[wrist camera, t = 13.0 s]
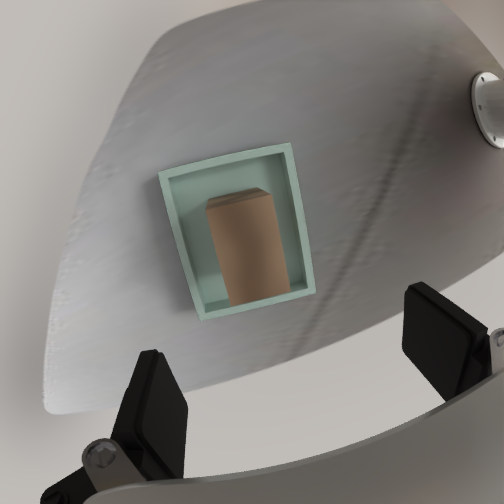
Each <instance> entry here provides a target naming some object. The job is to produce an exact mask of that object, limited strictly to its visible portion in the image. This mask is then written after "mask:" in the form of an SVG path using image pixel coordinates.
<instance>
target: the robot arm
mask: <svg viewBox="0 0 504 504" xmlns="http://www.w3.org/2000/svg"><path fill="white" fill-rule="evenodd" d="M471 95H472V105H473V110H474V114H475V117H476V120H477V123H478V125H479V127H480V129H481V132H482V133H483V135H484V136H485V138H486V139H487V140H488V142H489V143H490V144H492V145H493V146H495V147H497V148H504V79H500V80H499V79H498V78H497V77H496V76H495V75H493V74H492V73H489V72H483V73H480V74H478V75H477V76H476V77H475V78H474V81H473V84H472V94H471ZM487 330H488V328H487V327H486V326H484V325H483V324H482V323H480V322H479V321H478V320H476V319H475V318H474V317H472V316H471V315H469V314H468V313H467V312H465V311H464V310H463V309H461V308H460V307H458V306H457V305H456V304H454V303H453V302H451V301H450V300H449V299H447V298H446V297H444V296H443V295H441V294H440V293H438V292H437V291H436V290H434V289H433V288H431V287H430V286H428V285H427V284H425V283H424V282H418V283H415V284H412V285H409V286H408V288H407V290H406V291H405V296H404V321H403V337H402V349H403V352H404V353H405V355H406V356H407V357H408V358H409V359H410V360H411V362H412V363H413V364H414V365H415V366H416V367H417V368H418V369H419V371H420V372H421V373H422V374H423V375H424V377H425V378H426V379H427V380H428V381H429V382H430V384H431V385H432V386H433V387H434V388H435V389H436V391H437V392H438V393H439V394H440V396H441V397H442V398H443V399H444V400H445V401H446V402H445V403H444V404H442V405H440V406H438V407H436V408H434V409H432V410H431V411H429V412H427V413H425V414H423V415H421V416H418V417H416V418H415V419H412V420H410V421H408V422H406V423H404V424H401V425H399V426H397V427H395V428H392V429H390V430H388V431H385V432H383V433H380V434H378V435H375V436H373V437H370V438H368V439H365V440H362V441H360V442H357V443H354V444H351V445H348V446H346V447H343V448H339V449H336V450H333V451H330V452H327V453H323V454H320V455H316V456H313V457H309V458H305V459H302V460H298V461H294V462H290V463H286V464H281V465H277V466H271V467H266V468H261V469H256V470H250V471H244V472H238V473H230V474H224V475H215V476H206V477H197V478H183V475H184V458H185V444H186V430H187V418H188V406H187V402H186V400H185V398H184V397H183V394H182V392H181V390H180V388H179V386H178V384H177V382H176V380H175V378H174V376H173V374H172V372H171V369H170V367H169V365H168V363H167V361H166V358H165V356H164V354H163V353H162V352H158V351H157V350H156V349H154V350H147V351H142V352H141V353H140V355H139V358H138V361H137V364H136V366H135V369H134V372H133V375H132V378H131V381H130V383H129V386H128V388H127V389H126V391H125V394H124V397H123V400H122V403H121V406H120V409H119V412H118V415H117V418H116V422H115V424H114V428H113V432H112V434H111V437H110V439H107V438H103V439H98V440H95V441H93V442H92V443H91V444H89V445H88V446H87V447H86V448H85V449H84V451H83V454H82V463H83V467H81V468H80V469H78V470H77V471H75V472H74V473H72V474H71V475H69V476H67V477H65V478H64V479H62V480H61V481H59V482H57V483H56V484H54V485H52V486H51V487H49V488H48V489H46V490H45V492H44V493H43V494H42V496H41V499H40V504H504V328H499V329H496V330H494V331H493V332H492V333H491V335H490V336H489V335H488V334H487Z"/></svg>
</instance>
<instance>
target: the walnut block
mask: <svg viewBox="0 0 504 504" xmlns="http://www.w3.org/2000/svg"><path fill="white" fill-rule="evenodd" d="M205 211H206V215H207V219H208V223H209V227H210V231H211V234H212V238H213V242H214V246H215V250H216V254H217V257H218V261H219V265H220V268H221V272H222V276H223V279H224V283H225V287H226V290H227V294H228V298H229V301H230V305H231V306H235V305H240V304H244V303H248V302H252V301H256V300H260V299H264V298H268V297H272V296H276V295H279V294H283V293H287V292H291V290H290V284H289V279H288V274H287V268H286V263H285V258H284V253H283V247H282V242H281V237H280V232H279V227H278V222H277V217H276V212H275V208H274V203H273V198H272V194H270V193H268V192H266V191H264V190H262V189H260V188H258V187H256V188H252V189H247V190H243V191H239V192H234V193H230V194H226V195H222V196H218V197H214V198H210V199H208V202H207V206H206V209H205Z"/></svg>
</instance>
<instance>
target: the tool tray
mask: <svg viewBox="0 0 504 504" xmlns="http://www.w3.org/2000/svg"><path fill="white" fill-rule="evenodd" d="M158 176H159V181H160V185H161V189H162V193H163V197H164V201H165V205H166V209H167V213H168V216H169V220H170V224H171V228H172V231H173V235H174V238H175V242H176V246H177V249H178V253H179V256H180V259H181V263H182V266H183V270H184V273H185V276H186V280H187V283H188V286H189V289H190V292H191V296H192V299H193V302H194V305H195V308H196V311H197V314H198V317H199V320H200V321H203V320H208V319H212V318H217V317H221V316H226V315H230V314H234V313H239V312H243V311H247V310H252V309H256V308H260V307H264V306H268V305H272V304H276V303H280V302H284V301H288V300H292V299H295V298H299V297H303V296H307V295H310V294H314V293H316V288H315V280H314V273H313V266H312V260H311V253H310V246H309V240H308V234H307V228H306V222H305V216H304V210H303V204H302V199H301V193H300V188H299V182H298V177H297V172H296V167H295V162H294V157H293V152H292V147H291V142H289V143H283V144H278V145H272V146H267V147H261V148H256V149H251V150H246V151H241V152H237V153H232V154H227V155H223V156H219V157H214V158H210V159H206V160H202V161H198V162H194V163H190V164H186V165H182V166H178V167H174V168H171V169H167V170H163V171H160V172H158ZM256 187H258V188H260V189H262V190H264V191H266V192H268V193H270V194H272V198H273V203H274V208H275V212H276V217H277V222H278V227H279V232H280V237H281V242H282V247H283V253H284V258H285V263H286V268H287V274H288V279H289V284H290V290H291V292H287V293H283V294H279V295H276V296H272V297H268V298H264V299H260V300H256V301H252V302H248V303H244V304H240V305H235V306H231V305H230V301H229V298H228V294H227V290H226V287H225V283H224V279H223V276H222V272H221V268H220V265H219V261H218V257H217V254H216V250H215V246H214V242H213V238H212V234H211V231H210V227H209V223H208V219H207V215H206V211H205V209H206V206H207V202H208V199H210V198H214V197H218V196H222V195H226V194H230V193H234V192H239V191H243V190H247V189H252V188H256Z"/></svg>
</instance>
